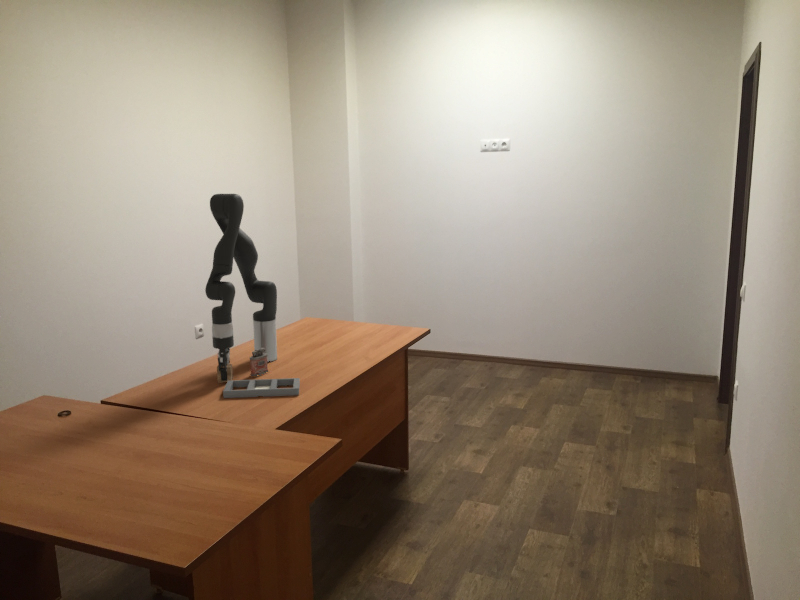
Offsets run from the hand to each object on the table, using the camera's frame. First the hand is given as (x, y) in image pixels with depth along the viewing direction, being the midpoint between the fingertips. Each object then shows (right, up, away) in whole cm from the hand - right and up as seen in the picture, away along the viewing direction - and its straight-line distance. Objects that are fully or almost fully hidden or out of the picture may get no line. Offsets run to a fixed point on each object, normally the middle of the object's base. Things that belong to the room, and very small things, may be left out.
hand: (225, 378), depth 241 cm
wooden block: (0, -1, 0) cm, 1 cm away
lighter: (+11, 0, +9) cm, 14 cm away
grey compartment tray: (+17, -3, -11) cm, 20 cm away
